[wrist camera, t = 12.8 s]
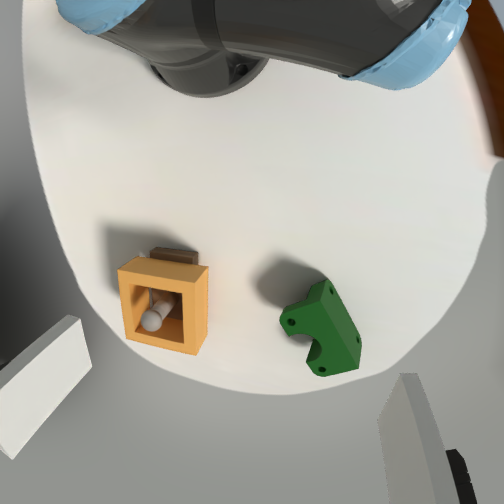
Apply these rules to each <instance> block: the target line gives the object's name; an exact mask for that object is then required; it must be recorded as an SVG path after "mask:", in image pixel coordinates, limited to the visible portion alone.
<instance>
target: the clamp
mask: <svg viewBox="0 0 504 504" xmlns="http://www.w3.org/2000/svg"><path fill="white" fill-rule="evenodd" d="M279 321H280V324H281V326H282V327H283V329H284V330H285V332H286V333H287V335H288V336H289V337H290V336H291V335H294V334H307V335H310V336H312V337H314V338H315V339H313V342H312V345H311V348H310V351H309V354H308V357H307V360H306V363H307V364H308V366H309V367H310V369H311V370H312V372H313V373H314V374H316V375H317V376H321V377H326V376H330V375H335V374H339V373H343V372H347V371H351V370H355V369H359V363H360V355H361V348H362V342H361V337H360V335H359V333H358V331H357V329H356V327H355V325H354V323H353V321H352V319H351V317H350V315H349V313H348V312H347V310H346V308H345V306H344V304H343V302H342V300H341V299H340V297H339V295H338V293H337V291H336V289H335V288H334V286H333V284H332V282H331V281H330V280H325V281H323V282H320V283H318V284H315V285H312V286H311V289H310V291H309V294H308V297H307V299H306V300H304V301H301V302H298V303H295V304H292V305H289V306H287V307H285V308H284V310H283V312H282V314H281V316H280V319H279Z"/></svg>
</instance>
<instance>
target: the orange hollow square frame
mask: <svg viewBox="0 0 504 504" xmlns="http://www.w3.org/2000/svg"><path fill="white" fill-rule="evenodd" d="M117 272H118V282H119V291H120V299H121V307H122V314H123V321H124V328H125V334H126V339H129V340H133V341H136V342H140V343H144V344H148V345H152V346H156V347H160V348H164V349H168V350H172V351H177V352H181V353H185V354H190V355H195V356H196V355H197V353H198V351H199V349H200V347H201V346H202V344H203V342H204V340H205V338H206V336H207V318H208V266H201V265H194V264H187V263H180V262H173V261H166V260H159V259H153V258H146V257H140V256H137V257H135V258H134V259H132V260H131V261H129V262H128V263H126V264H125V265H123V266H122V267H120V268H119V269H118V270H117ZM149 287H151V288H156V289H161V290H167V291H172V292H178V293H182V302H183V321H182V320H177V319H173V318H168V317H165V318H164V319H163V320H162V325H161V327H160V328H159V329H158V330H156V331H153V332H151V331H147V330H146V329H144V328H143V326H142V325H141V316H142V314H143V313H144V312H145V311H146V310H150V300H149Z"/></svg>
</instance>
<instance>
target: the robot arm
mask: <svg viewBox="0 0 504 504" xmlns="http://www.w3.org/2000/svg"><path fill="white" fill-rule="evenodd" d="M56 4H57V6H58V11H59V13H60V15H61V16H62V17H63V18H64V19H65V20H66V21H68V22H70V23H71V24H73V25H75V26H77V27H78V28H80V29H81V30H82V31H83V32H85V33H86V34H93V35H96V36H98V37H101V38H103V39H105V40H108V41H110V42H112V43H115V44H117V45H119V46H121V47H123V48H125V49H128V50H130V51H132V52H134V53H136V54H138V55H140V56H142V57H144V58H146V59H148V61H149V63H150V65H151V67H152V69H153V71H154V73H155V74H156V76H157V77H158V78H159V79H160V80H161V81H162V82H163V83H164V84H165V85H167V86H168V87H170V88H172V89H174V90H176V91H178V92H180V93H182V94H185V95H188V96H192V97H200V98H210V97H217V96H222V95H226V94H229V93H231V92H234V91H236V90H238V89H240V88H242V87H243V86H245V85H247V84H248V83H249V82H251V81H252V80H253V79H254V78H255V77H256V76H257V75H258V74H259V73H260V72H261V71H262V70H263V68H264V67H265V65H266V64H267V62H268V60H269V58H271V59H276V60H281V61H286V62H291V63H295V64H300V65H304V66H308V67H312V68H316V69H320V70H324V71H327V72H331V73H335V74H338V77H340V78H342V79H345V80H358V81H362V82H365V83H369V84H372V85H375V86H378V87H381V88H385V89H388V90H401V89H405V88H411V87H414V86H416V85H418V84H420V83H422V82H423V81H425V80H426V79H427V78H428V77H430V76H431V75H432V74H433V73H434V72H435V71H436V70H437V69H438V68H439V67H440V66H441V65H442V64H443V63H444V61H445V60H446V59H447V57H448V56H449V55H450V53H451V52H452V50H453V49H454V47H455V46H456V44H457V42H458V41H459V39H460V37H461V35H462V33H463V30H464V28H465V25H466V22H467V19H468V14H467V12H466V9H467V8H468V7H469V5H470V4H471V0H56ZM91 367H92V365H91V361H90V357H89V353H88V350H87V346H86V342H85V338H84V333H83V329H82V325H81V320H80V318H76V317H74V316H71V315H67V316H66V317H64V318H63V319H62V320H61V321H59V322H58V323H57V324H56V325H54V326H53V327H52V328H51V329H50V330H48V331H47V332H46V333H44V334H43V335H42V336H41V337H40V338H38V339H37V340H36V341H35V342H34V343H32V344H31V345H30V346H29V347H27V348H26V349H25V350H24V351H23V352H22V353H20V354H19V355H18V356H17V357H16V358H15V359H13V360H12V361H8V362H6V363H4V364H2V365H0V450H1V451H2V452H4V453H5V454H6V455H7V456H8V457H10V458H11V459H13V458H14V457H15V456H16V455H17V454H18V452H19V451H20V450H21V449H22V447H23V446H24V445H25V444H26V443H27V441H28V440H29V439H30V438H31V437H32V435H33V434H34V433H35V432H36V430H37V429H38V428H39V427H40V426H41V425H42V423H43V422H44V421H45V420H46V419H47V417H48V416H49V415H50V414H51V413H52V412H53V411H54V409H55V408H56V407H57V406H58V405H59V404H60V403H61V401H62V400H63V399H64V398H65V397H66V396H67V394H68V393H69V392H70V391H71V390H72V389H73V388H74V387H75V385H76V384H77V383H78V382H79V381H80V380H81V379H82V377H83V376H84V375H85V374H86V373H87V372H88V371H89V370H90V369H91ZM377 421H378V427H379V433H380V439H381V445H382V451H383V457H384V464H385V471H386V479H387V486H388V495H389V504H477V500H476V497H475V493H474V490H473V486H472V483H470V481H471V479H470V476H469V473H467V472H468V470H467V467H466V463H465V460H464V458H463V457H462V456H461V455H460V454H459V452H458V451H457V450H456V449H452V450H446V451H445V448H444V445H443V442H442V439H441V436H440V433H439V430H438V427H437V424H436V422H435V419H434V416H433V413H432V410H431V408H430V405H429V402H428V400H427V397H426V394H425V392H424V389H423V387H422V384H421V382H420V379H419V377H418V374H417V373H400V375H399V377H398V379H397V381H396V383H395V386H394V388H393V390H392V392H391V394H390V396H389V398H388V400H387V402H386V404H385V406H384V408H383V410H382V412H381V414H380V416H379V418H378V419H377Z"/></svg>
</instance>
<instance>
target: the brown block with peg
mask: <svg viewBox="0 0 504 504" xmlns="http://www.w3.org/2000/svg"><path fill="white" fill-rule="evenodd" d="M150 258H153V259H159V260H166V261H173V262H180V263H187V264H194V265H198V252H190V251H183V250H175V249H168V248H160V247H156V248H154V249H153V250H151V251H150ZM152 300H153V307H152V308H151V309H150V310H146V311H145V312H144V313H143V314H142V316H141V325H142V326H143V328H144V329H146V330H147V331H151V332H153V331H156V330H158V329H159V328H160V327H161V325H162V320H163V319H164V318H165V317H168V318H173V319H177V320H182V321H183V302H182V293H178V292H172V291H167V290H161V289H156V288H152Z"/></svg>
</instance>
